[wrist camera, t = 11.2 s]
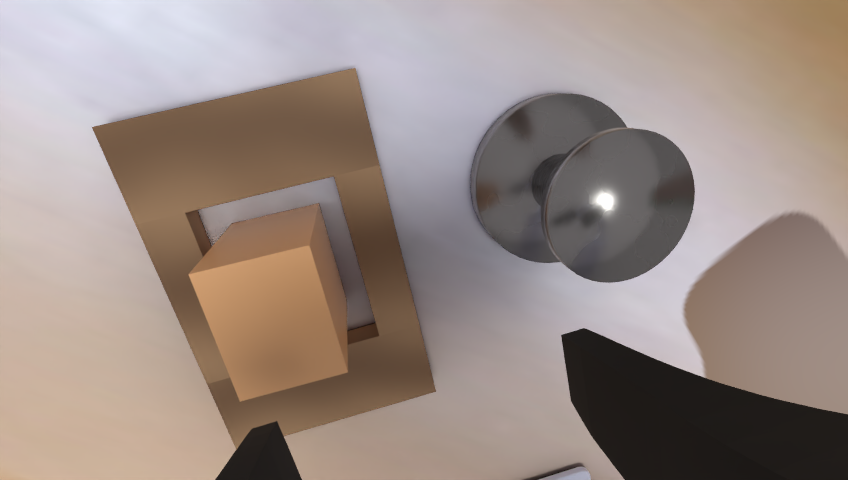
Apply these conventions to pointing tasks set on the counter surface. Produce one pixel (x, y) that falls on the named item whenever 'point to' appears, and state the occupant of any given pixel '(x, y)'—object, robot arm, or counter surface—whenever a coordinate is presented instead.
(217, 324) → the block
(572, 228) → the bobbin
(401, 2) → the counter surface
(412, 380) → the board
